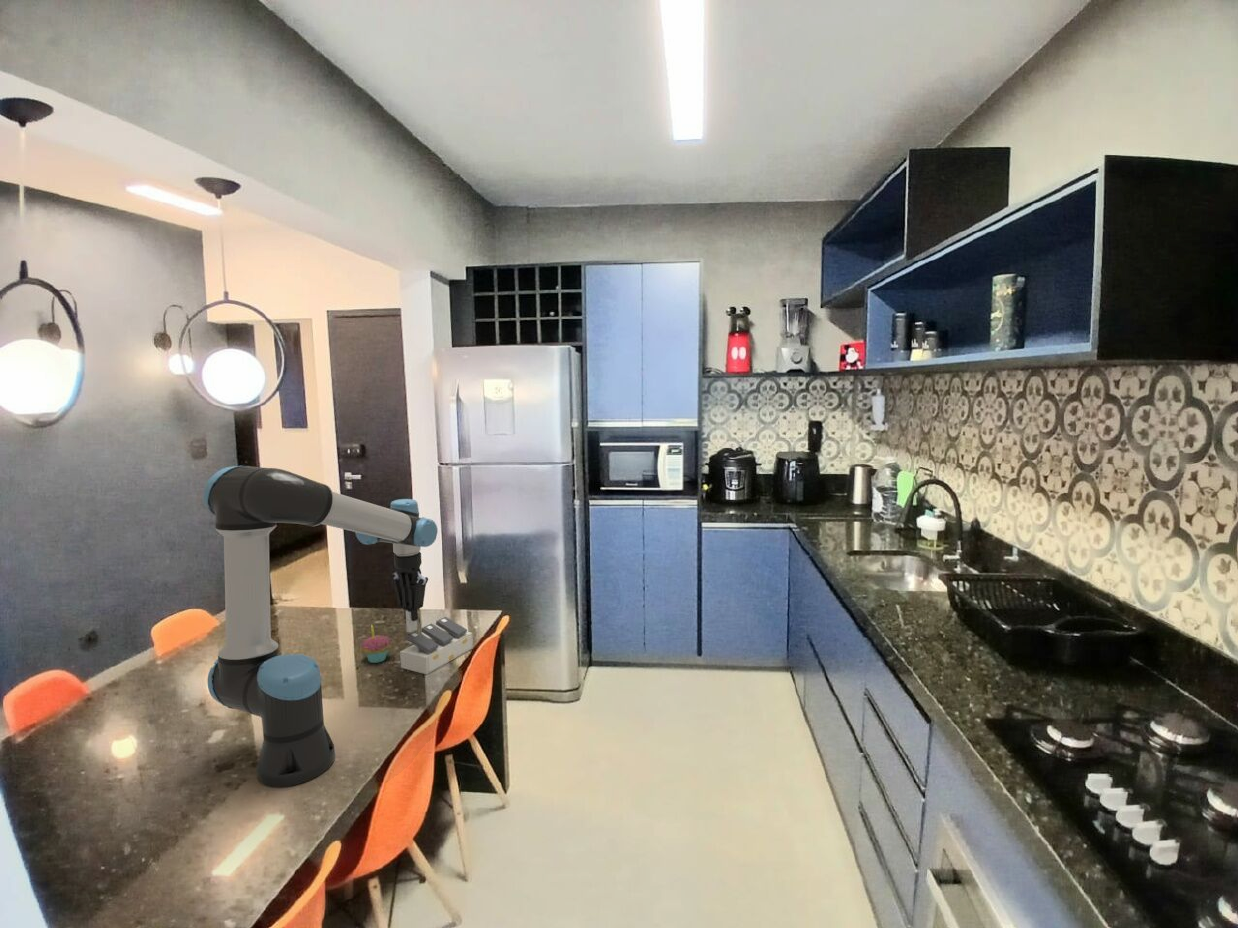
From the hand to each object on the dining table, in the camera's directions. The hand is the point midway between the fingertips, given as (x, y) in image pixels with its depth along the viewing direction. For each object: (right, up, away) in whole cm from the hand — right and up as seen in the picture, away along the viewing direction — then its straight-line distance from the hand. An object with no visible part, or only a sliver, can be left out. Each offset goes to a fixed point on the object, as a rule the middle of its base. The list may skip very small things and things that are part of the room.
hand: (412, 630), depth 186 cm
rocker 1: (+3, -3, -1) cm, 5 cm away
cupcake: (-12, -10, +4) cm, 16 cm away
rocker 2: (+6, -2, +4) cm, 8 cm away
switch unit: (+6, -9, +5) cm, 12 cm away
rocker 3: (+9, -1, +9) cm, 13 cm away
